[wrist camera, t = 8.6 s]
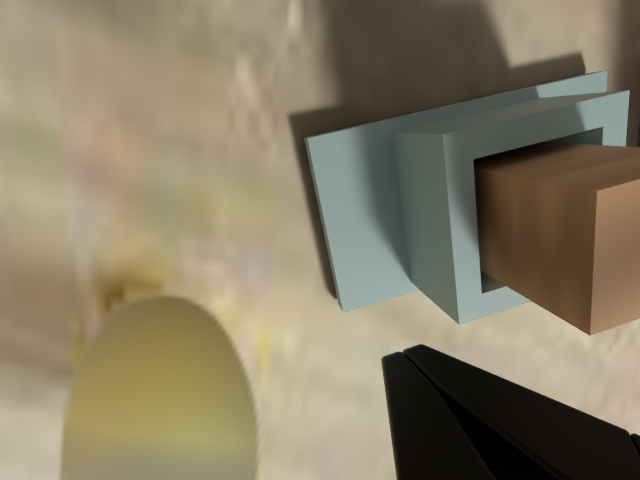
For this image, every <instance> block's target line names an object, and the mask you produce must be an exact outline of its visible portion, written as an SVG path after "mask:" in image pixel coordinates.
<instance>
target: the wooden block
mask: <svg viewBox="0 0 640 480" xmlns="http://www.w3.org/2000/svg"><path fill="white" fill-rule="evenodd" d="M473 163H474V179H475V195H476V211H477V227H478V243H479V259H480V271H481V272H483V273H485V274H486V275H488V276H490V277H492V278H493V279H495V280H497V281H498V282H500V283H502V284H503V285H505V286H507V287H509V288H510V289H512V290H514V291H515V292H517V293H519V294H520V295H522V296H524V297H525V298H527V299H529V300H531V301H532V302H534V303H536V304H537V305H539V306H541V307H542V308H544V309H546V310H548V311H549V312H551V313H553V314H554V315H556V316H558V317H559V318H561V319H563V320H565V321H566V322H568V323H570V324H571V325H573V326H575V327H576V328H578V329H580V330H581V331H583V332H585V333H587V334H588V335H593V334H596V333H599V332H602V331H605V330H608V329H611V328H613V327H616V326H619V325H622V324H625V323H628V322H631V321H634V320H637V319H640V147H625V146H607V145H589V144H572V143H554V142H540V143H536V144H532V145H528V146H524V147H520V148H516V149H512V150H508V151H504V152H500V153H496V154H492V155H488V156H484V157H480V158H476V159H473Z"/></svg>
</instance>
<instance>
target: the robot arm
mask: <svg viewBox="0 0 640 480" xmlns="http://www.w3.org/2000/svg"><path fill="white" fill-rule="evenodd" d="M381 362H382V370H383V377H384V385H385V392H386V400H387V408H388V415H389V423H390V431H391V438H392V446H393V454H394V461H395V469H396V477H397V480H640V436H639V435H637V434H631V435H630V434H629V433H628V431H627V430H625V429H622V428H620V427H618V426H615V425H613V424H610V423H608V422H606V421H603V420H601V419H599V418H596V417H594V416H591V415H589V414H587V413H584V412H582V411H580V410H577V409H575V408H573V407H570V406H568V405H565V404H563V403H561V402H558V401H556V400H554V399H551V398H549V397H546V396H544V395H542V394H539V393H537V392H535V391H532V390H530V389H527V388H525V387H523V386H520V385H518V384H516V383H513V382H511V381H508V380H506V379H504V378H501V377H499V376H497V375H494V374H492V373H489V372H487V371H485V370H482V369H480V368H478V367H475V366H473V365H471V364H468V363H466V362H463V361H461V360H459V359H456V358H454V357H452V356H449V355H447V354H444V353H442V352H440V351H437V350H435V349H433V348H430V347H428V346H425V345H422V344H420V345H416V346H413V347H410V348H407V349H404V350H403V352H395V353H392V354H389V355H386V356H384V357H382V359H381Z"/></svg>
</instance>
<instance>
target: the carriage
mask: <svg viewBox="0 0 640 480" xmlns="http://www.w3.org/2000/svg"><path fill="white" fill-rule="evenodd" d="M606 90H607V71H600V72H593V73H588V74H584V75H579V76H575V77H570V78H566V79H561V80H557V81H553V82H548V83H544V84H539V85H535V86H530V87H526V88H521V89H517V90H513V91H508V92H504V93H499V94H495V95H490V96H486V97H482V98H477V99H473V100H468V101H464V102H459V103H455V104H450V105H446V106H442V107H437V108H433V109H428V110H424V111H419V112H415V113H411V114H406V115H402V116H397V117H393V118H388V119H384V120H379V121H375V122H371V123H366V124H362V125H357V126H353V127H348V128H344V129H340V130H335V131H331V132H326V133H322V134H317V135H313V136H309V137H304V141H305V146H306V151H307V155H308V160H309V165H310V170H311V175H312V179H313V184H314V189H315V194H316V198H317V203H318V208H319V213H320V218H321V222H322V227H323V232H324V237H325V242H326V246H327V251H328V256H329V261H330V266H331V270H332V275H333V280H334V285H335V289H336V294H337V299H338V304H339V306H340V308H341V310H342V311H343V313H344V312H348V311H351V310H354V309H358V308H361V307H364V306H368V305H371V304H374V303H378V302H381V301H384V300H388V299H391V298H394V297H398V296H401V295H404V294H408V293H411V292H414V291H417V290H420V291H422V292H423V293H424V294H425V295H426V296H427V297H428V298H429V299H431V300H432V301H433V302H434V303H435V304H436V305H437V306H439V307H440V308H441V309H442V310H443V311H444V312H445V313H447V314H448V315H449V316H450V317H451V318H452V319H453V320H454V321H456V322H457V323H458V324H459V325H460V324H463V323H466V322H469V321H472V320H476V319H479V318H482V317H485V316H488V315H491V314H494V313H497V312H500V311H504V310H507V309H510V308H513V307H516V306H519V305H522V304H525V303H528V302H532V301H531V300H529V299H527V298H525V297H524V296H522V295H520V294H519V293H517V292H515V291H514V290H512V289H510V288H509V287H507V286H505V285H503V284H502V283H500V282H498V281H497V280H495V279H493V278H492V277H490V276H488V275H486V274H485V273H483V272H481V271H480V259H479V243H478V227H477V211H476V195H475V179H474V163H473V159H476V158H480V157H484V156H488V155H492V154H496V153H500V152H504V151H508V150H512V149H516V148H520V147H524V146H528V145H532V144H536V143H540V142H554V143H572V144H589V145H607V146H625V147H626V135H627V121H628V107H629V93H630V90H626V91H614V92H606Z"/></svg>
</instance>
